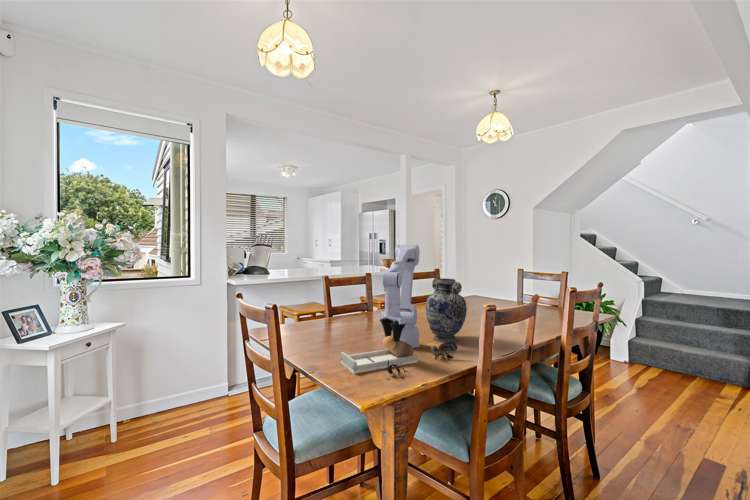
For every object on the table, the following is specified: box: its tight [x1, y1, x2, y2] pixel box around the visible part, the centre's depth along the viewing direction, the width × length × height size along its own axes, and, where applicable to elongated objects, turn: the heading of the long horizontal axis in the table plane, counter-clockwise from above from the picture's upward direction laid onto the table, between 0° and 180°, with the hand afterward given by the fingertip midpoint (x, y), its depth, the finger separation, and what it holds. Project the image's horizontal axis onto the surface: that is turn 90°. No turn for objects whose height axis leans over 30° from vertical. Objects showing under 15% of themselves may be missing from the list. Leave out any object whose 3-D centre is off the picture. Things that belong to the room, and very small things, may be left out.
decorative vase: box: [425, 278, 468, 343], centre depth 164 cm, size 21×19×28 cm
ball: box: [382, 335, 396, 350], centre depth 134 cm, size 5×5×5 cm
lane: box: [340, 348, 418, 375], centre depth 132 cm, size 26×12×4 cm, turn 117°
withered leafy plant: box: [430, 342, 459, 361], centre depth 137 cm, size 8×7×9 cm
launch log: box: [388, 340, 415, 358], centre depth 136 cm, size 6×10×6 cm, turn 27°
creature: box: [386, 359, 410, 380], centre depth 120 cm, size 8×5×8 cm
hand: (392, 339), depth 135 cm, fingers open, 6 cm apart
